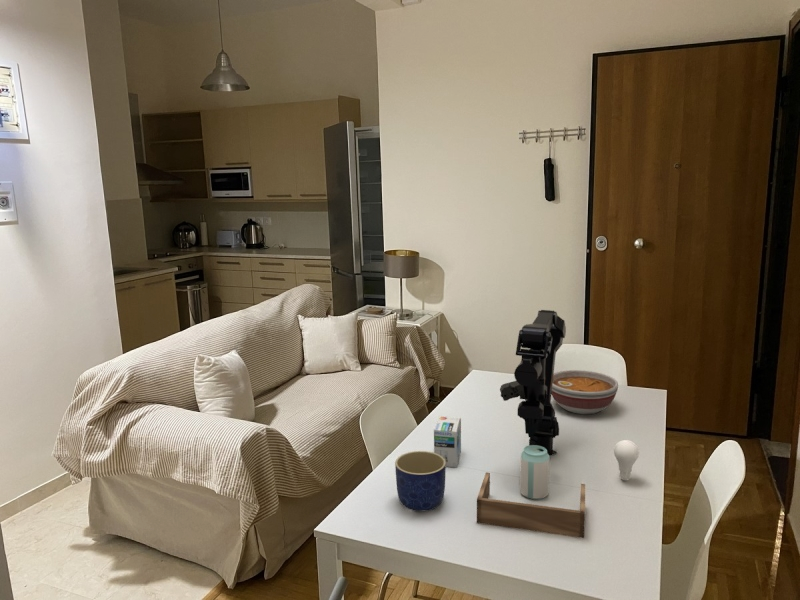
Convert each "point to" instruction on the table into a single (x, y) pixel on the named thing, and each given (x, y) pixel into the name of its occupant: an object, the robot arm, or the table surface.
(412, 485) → the planter
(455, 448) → the light bulb box
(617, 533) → the table surface
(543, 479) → the can
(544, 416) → the robot arm
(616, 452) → the lightbulb
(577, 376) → the bowl
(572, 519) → the three-sided wooden tray
